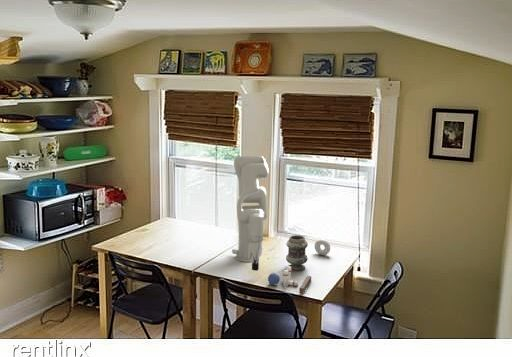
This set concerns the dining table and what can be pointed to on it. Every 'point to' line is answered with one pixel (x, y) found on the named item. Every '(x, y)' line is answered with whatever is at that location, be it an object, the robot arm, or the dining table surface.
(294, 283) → the front pin
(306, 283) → the grey brown bar
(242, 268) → the dining table surface
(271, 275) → the ball
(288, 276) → the pin
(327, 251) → the donut
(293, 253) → the grey brown vase
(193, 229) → the dining table surface
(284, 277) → the pin
